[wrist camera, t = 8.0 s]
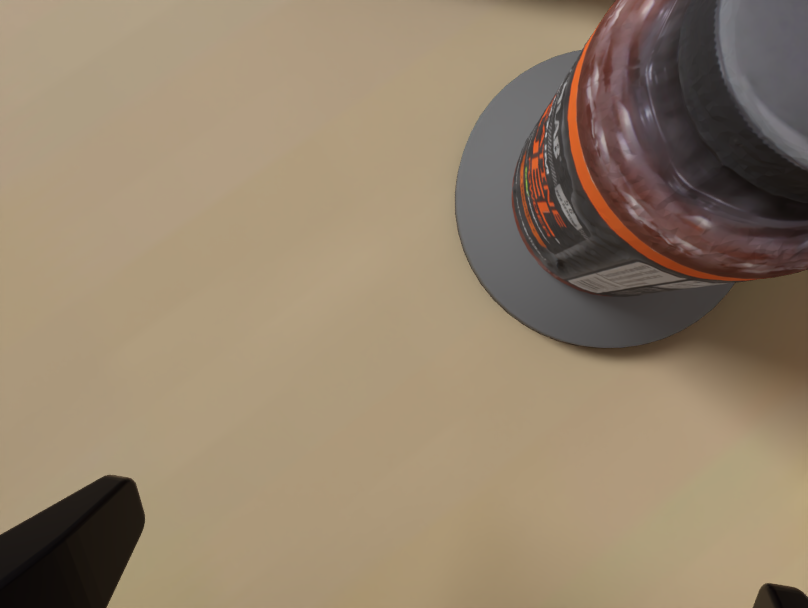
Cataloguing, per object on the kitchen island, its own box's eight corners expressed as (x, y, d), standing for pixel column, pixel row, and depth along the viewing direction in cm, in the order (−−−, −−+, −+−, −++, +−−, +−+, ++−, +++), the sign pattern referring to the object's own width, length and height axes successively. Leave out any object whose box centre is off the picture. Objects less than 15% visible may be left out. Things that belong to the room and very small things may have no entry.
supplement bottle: (498, 109, 19) (619, -203, 8) (697, 92, 19) (1100, -242, 8) (514, 308, 19) (664, 275, 8) (717, 292, 19) (1161, 237, 8)
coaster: (790, 289, 20) (806, 287, 19) (513, 388, 20) (518, 390, 19) (684, 19, 20) (695, 6, 20) (414, 115, 20) (414, 106, 19)
